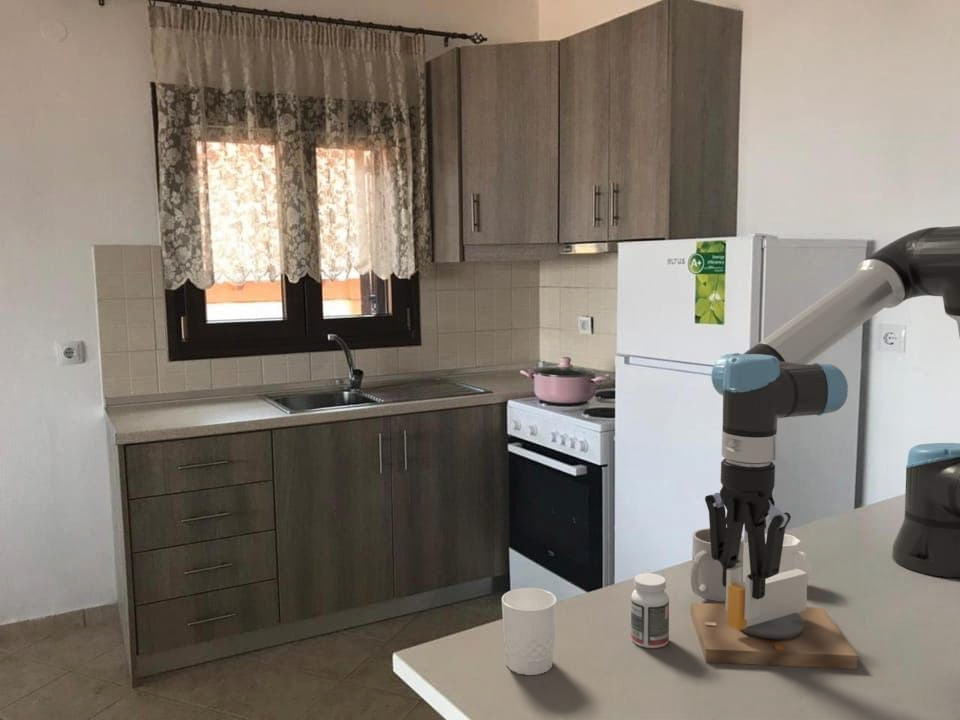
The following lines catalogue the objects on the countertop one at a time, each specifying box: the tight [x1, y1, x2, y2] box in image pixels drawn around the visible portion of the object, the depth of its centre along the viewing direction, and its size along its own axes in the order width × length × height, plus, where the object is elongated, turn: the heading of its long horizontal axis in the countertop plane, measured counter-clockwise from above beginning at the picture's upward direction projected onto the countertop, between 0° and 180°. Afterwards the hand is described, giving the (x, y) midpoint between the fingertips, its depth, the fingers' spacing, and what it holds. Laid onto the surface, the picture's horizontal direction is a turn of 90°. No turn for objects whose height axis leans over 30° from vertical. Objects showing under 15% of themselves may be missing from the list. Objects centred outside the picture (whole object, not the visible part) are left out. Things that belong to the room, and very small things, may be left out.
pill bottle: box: [630, 572, 670, 649], centre depth 123 cm, size 6×6×10 cm
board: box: [690, 602, 858, 670], centre depth 123 cm, size 21×16×2 cm
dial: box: [728, 568, 808, 639], centre depth 123 cm, size 14×10×7 cm
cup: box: [765, 533, 812, 582], centre depth 144 cm, size 7×10×8 cm
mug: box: [690, 527, 745, 602], centre depth 140 cm, size 12×9×10 cm
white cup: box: [501, 587, 557, 676], centre depth 117 cm, size 8×8×10 cm
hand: (742, 612), depth 121 cm, fingers closed on dial, 3 cm apart
